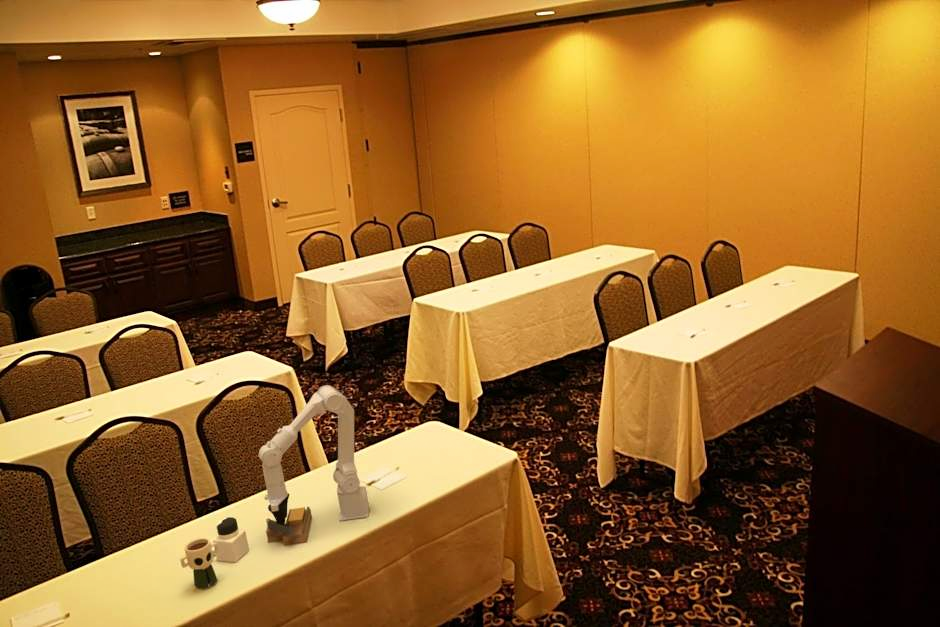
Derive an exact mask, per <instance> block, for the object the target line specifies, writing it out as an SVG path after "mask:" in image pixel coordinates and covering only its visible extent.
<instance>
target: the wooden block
mask: <svg viewBox="0 0 940 627" xmlns="http://www.w3.org/2000/svg"><path fill="white" fill-rule="evenodd" d="M290 509H291V513H290V516H289V520H288V523H289V525H291V527H292V526H298V525H303V523H304V518H305V514H306V510H307V509H306V507H305V506H304V507H297V508H290Z"/></svg>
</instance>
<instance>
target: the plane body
mask: <svg viewBox="0 0 940 627" xmlns="http://www.w3.org/2000/svg"><path fill="white" fill-rule="evenodd" d="M291 509H292V508H290V509H289V511H288V512H287V518H286V520H285V524H287V525H289V523H288V520H289V516H290V513H291ZM305 510H306V514H305V518H304V523H303V525H298V526H292V532H293V534H292V535H288V534H284V533H281V532H278V531H274V530H271V529H268V527H267V526H266V530H265V534H266V538H267V543H274V542H275V543H276V542H281V541H283V546H285V547H286V546H293V545H297V544H298V545H299V544H304V543H308V539H309V538H308V537H309V533H310V528H311V525H312V524H311V523H312V518H313V516H312V510H311V508H310V506H307V507H306V509H305Z"/></svg>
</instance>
